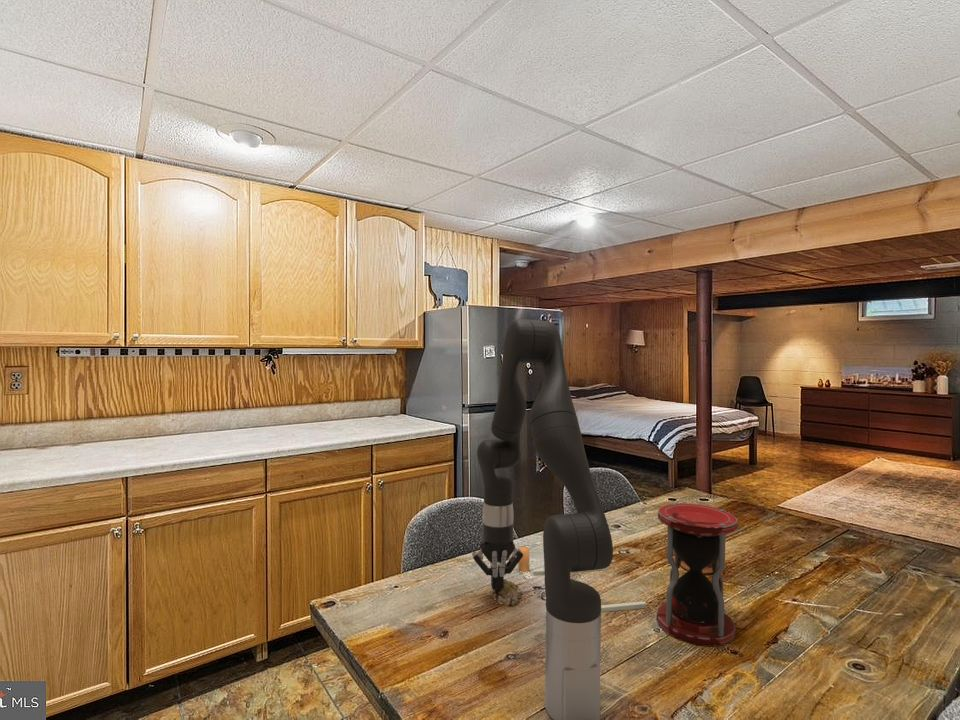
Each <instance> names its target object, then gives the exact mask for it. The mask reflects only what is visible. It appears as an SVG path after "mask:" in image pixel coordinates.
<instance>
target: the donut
mask: <svg viewBox="0 0 960 720" xmlns="http://www.w3.org/2000/svg"><path fill="white" fill-rule="evenodd" d="M680 567H682V568H683V569H685V570H686V571H687V572H688V571H689V570H690V568H689V567H688V566H687V565H686V563H685V562H684V561H683V560H682V559H681V565H680ZM702 573H703V574H704V575H705V574H707V575H708V574H713V571H712V563H711V564H709V565H708V566H707V567H705V568H704V569H702Z"/></svg>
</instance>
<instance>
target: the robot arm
mask: <svg viewBox="0 0 960 720" xmlns="http://www.w3.org/2000/svg"><path fill="white" fill-rule="evenodd" d="M503 342H504V343H503V347H502V348H503V349H502V359H501V366H500V367H501V368H500V376H499V377H500V378H499V387H498V390H499V391H498V397H497V401H496V404H495V405H496V406H495V410H494V413H493V418H492V420H491V424H490V425H491V427H490V429H491V433H492V435H494V437H496V438H495V439H485V440H482V441H481V442H480V443H479V444H478V447H477V449H476V458H477V462H478V464H479V468H480V473H481V477H482V481H483V506H482V516H481V519H482V542H481V544H480V549H479V550H478V551H474V552H472V554H471V557H472V558H473V560H474V562H475V563H476V564H477V566H478V567H480V569H481V570H482V572H483V573H484V574H485V575H486V576H490V586H491V589H492V588H493V590H494V591H495V592H499V591H501V589H503V587H504V579H505V578H504V577H505V576H506V575H507V574H511V573H512V572H513V571H514V570H515V568H516V567H517V565H518V563H519V561H520V560H521V558H522V557H523V553H522V552H521V550H520V549H518V548H517V547H516V545H515V543H514V506H513V505H514V502H513V497H514V496H513V495H514V494H513V493H514V491H513V490H514V488H513V487H514V486H513V481H512V480H511V479H510V477H508V476H507V477H506V476H501V475H496V472H495V471H496V470H497V469H507V468H509V469H510V468H513V467H515V466H516V465H517V464H518V463H519V462H520V459H521V457H522V454H521V453H522V451H521V431H522V429H523V424H524V421H525V418H526V413H527V401H526V396H525V395H524V392H523V390H522V388H521V384H520V382H519V378H518V368H519V364H520V363H528V364H529V363H530V364H531V363H532V364H540V365H541V367H542V369H543V381H542V382H543V383H542V384H541V388H540V390H539V392H538V393H537V395H536V397H535V400H534V401H533V403H532V406H531V408H530V412H529V416H528V421H529V428H530V433H531V437H532V443H533V448H534V450H535V452H536V454H537V457H539V459H540V460H541V462H543V464H544V465H545V466H546V467H547V469H549V470H550V471H551V473H552V474H553V475H555V476H556V478H557V479H558V480H559V481H560V482H561V483H562V485H563V486H564V487H565V489H566V491H567V492H568V494H569V495H570V497H571V500H572V502H573V505H574V507H575V510H576V513H564V514H563V513H562V514H554V515H550V516H548V517H547V519H546V520H545V522H544V525H543V529H542V530H543V533H542V535H543V536H542V539H543V542H542V545H543V546H542V547H543V565H544V566H543V567H544V568H543V569H544V572H545V575H544V591H545V610H546V613H545V646H544V647H545V650H544V651H545V652H544V653H545V661H544V665H545V667H544V669H545V670H544V671H545V672H544V673H545V675H544V688H545V689H544V707H545V711H546V713H547V714H548V715H549V718H551V719H552V720H601V644H602V643H601V641H602V640H601V639H602V638H601V637H602V636H601V635H602V632H601V631H602V612H601V605H602V597H601V595H600V593H599V592H598V590H597V589H595V588H594V587H593V586H591V585H590V584H587V583H585V582H582V581H578V580H575V579H573V578H571V572H572V573H580V572H579V571H584V572H590V571H589V570H597V571H600V570H599V569H604V568H607V567H608V568H609V567H610V565H611V564H612V561H613V557H614V546H613V539H612V535H611V530H610V526H609V523H608V521H607V517H606V514H605V511H604V508H603V505H602V503H601V500H600V499H601V498H600V497H599V495H598V494H599V493H598V491H597V488H596V485H595V483H594V480H593V476H592V473H591V469H590V465H589V461H588V459H587V454H586V450H585V447H584V446H585V445H584V441H583V437H582V436H583V435H582V431H581V427H580V423H579V419H578V416H577V413H576V412H577V411H576V409H575V406H574V403H573V399H572V396H571V395H572V394H571V390H570V386H569V383H568V382H569V381H568V379H567V378H568V377H567V371H566V367H565V364H566V363H565V358H564V353H563V352H564V351H563V345H562V340H561V336H560V333H559V329H558V327H557V326H556V324H555V323H553V322H552V321H548V320H547V321H546V320H541V319H527V318H526V319H525V318H516V319H513V320H512V321H510V323H509V324H508V327H507V329H506V332H505V336H504V341H503ZM483 555H484V556H483ZM484 557H485V558H486V559H487V561H488V562H489V563H490V564H489V565H490V567H489V566H488V565H487V564H486V563H485V562H484V560H483V559H484ZM508 559H509V560H508Z"/></svg>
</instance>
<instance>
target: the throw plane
mask: <svg viewBox="0 0 960 720" xmlns="http://www.w3.org/2000/svg"><path fill="white" fill-rule="evenodd" d="M517 549H520V550H521V552H522V553H523V557H522V558H521V560H520V561H519V563H518V564H517V565H518V566H517V567H518V568H517V569H518V570H519V571H521V572H523V573H524V572H528V574H529V575H528V574H526V573H525V574H526V575H528V576H530V575H531V573H530V548H529V547H528V546H519V547H518V548H517ZM608 570H609V566H608V567H607V568H604V569H599V570H589V571H588V572H596V571H608ZM519 571H518V572H519ZM521 572H520V573H521ZM584 572H585V571H579V572H578V573H584ZM532 575H534V576H543V575H544V576H545V572H544V568H540V569H533V571H532ZM532 575H531V576H530V578H529V577H528V576H526V577H527V578H528V579H527V578H526V579H525V580H534V578H533V576H532ZM531 578H532V579H531ZM646 606H647V605H646V602H644V601H633V602H631V601H630V602H624V603H623V602H621V603H613V604H611V603H609V604H601V613H607V612H609V613H610V612H616V611H618V612H619V611H627V610H628V611H629V610H640V609H646ZM543 611H544V613H545V614H546V609H544V610H543Z"/></svg>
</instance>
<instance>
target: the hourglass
mask: <svg viewBox="0 0 960 720" xmlns="http://www.w3.org/2000/svg"><path fill="white" fill-rule="evenodd" d="M657 518H658V520H659V521H660V522H661V523H662V524H663V525H664V526H667V539H666V540H667V541H666V542H667V544H666V559H667V562H668V563H669V565H670V567H671V569H670V572H669V583H668V585H667V589H666V593H665V594H666V597H665V598H666V602H664V603H661V605H660V606H658V607H657V610H656V614H655V616H656V622H657V624H658V626H659V627H660V628H661V629H662V630H663V632H665V633H667V634H668V635H670V636H671V637H673V638H675V639H677V640H680V641H682V642H684V643H689V644H692V645H697V646H702V647H703V646H704V647H717V646H725V645H726V644H729V643H731V642H732V641H733V640H734V639H735V637H736V624H735V622H734V621H733V619H732V617H730V616H729V615H727V613H725V600H724V599H725V598H724V579H723V577H722V575H721V574H722V573H724V571H725V569H726V568H725V567H726V535H727V534H730V533H731V534H732V533H734V532H735V531H736V530H738V518H737V516H735V515H734V514H733V513H731V512H728V511H727V510H724V509H720V508H718V507H713V506H710V505H704V504H697V503H685V502H684V503H682V502H679V503H669V504H664V505H662V506H661V507H659V508H658V511H657ZM681 559H682V560H683V561H684V562H685V563H686V565H687V566H688V567H689V568H690V570H689V571H688V570H687V571H686V572H685V573H683V574H682V575H681V576H680V572H679V569H680V567H681ZM711 563H712V571H713V573H712V577H711V580H710V579H709V578H708V577H707V576H706V575H705V574H703V573H702V569H704V568H705V567H707V566H708V565H709V564H711Z"/></svg>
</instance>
